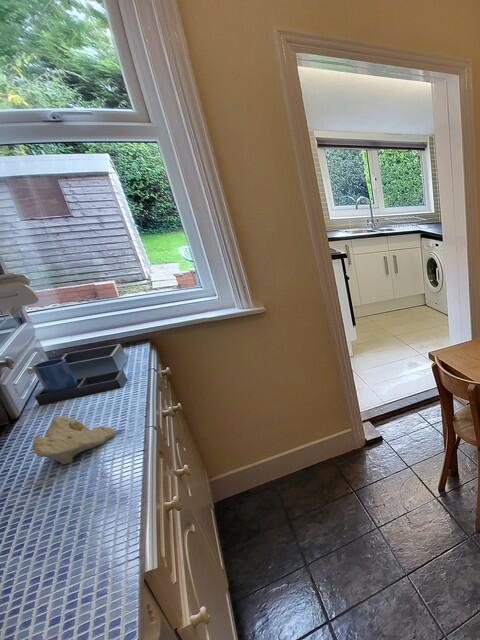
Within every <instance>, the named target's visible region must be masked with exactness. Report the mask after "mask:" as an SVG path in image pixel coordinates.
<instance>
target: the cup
mask: <svg viewBox="0 0 480 640" xmlns="http://www.w3.org/2000/svg"><path fill="white" fill-rule="evenodd" d="M31 369H32V370H33V372H34V374H35V376H36V377H37V379H38V381H39V383H40V384H41V386H42V388H43V387H44V389H45V391H46V393H47V394H48V393H53V392H58V391H63V390H67V389H72V388H77V386H78V385H79V384H78V382H77V380H76V378H75V377H74V375H73V373H72V371H71V369H70V367H69V365H68V364H67V362H66V360H65V359H61V358H54V359H49V360H45V361H40V362H38V363H36V364H33V365H32V366H31Z"/></svg>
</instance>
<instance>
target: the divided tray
mask: <svg viewBox="0 0 480 640" xmlns="http://www.w3.org/2000/svg"><path fill="white" fill-rule="evenodd" d="M76 380H77V382H78V384H79V385H78V386H77V388H72V389H67V390H63V391H58V392H53V393H48V394H47V393H46V391H45V389H44V387H43V386H42V388H41V389H40V390H39V392H38V393H37V394H35V396H34V399H35V401H36V402H37V404H38V405H39V407H41V406H47V405H51V404H55V403H60V402H64V401H69V400H73V399H79V398H83V397H87V396H92V395H97V394H102V393H106V392H111V391H116V390H119V389H123V388H124V387H125V385H126V384H127V381H128V378H127V375H126V374H125V372H124V369H122V370H119V371H114V372H109V373H104V374H99V375H94V376H89V377H84V378H79V379H76Z"/></svg>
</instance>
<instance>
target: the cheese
mask: <svg viewBox="0 0 480 640" xmlns="http://www.w3.org/2000/svg"><path fill="white" fill-rule="evenodd" d="M116 434H117V432H116V429H115V428H112V427H110V426H103V425H100V426H96V427H93V428H92V429H90V428H88V427H87V426H86V425H85V424H84V423H83V422H82V421H80V420H79V419H76V418H70V417H69V416H66V415H65V416H64V415H60V416H59V415H58V416H54V418H53V419H52V420H51V424H50V425H49V427H48V428H47V429H46V431H45V433H44V436H40V434H39V432H35V435H36V436H34V437H33V442H32V450H33V453H34V454H35V455H36V456H37V457H42V458H48V459H53V460H55V461H56V462H57V461H58V462H60V464H61V465H67V464H70V463H72V462H73V461H74V458H75V457H76V456H77V455H78V454H80V453H82V452H84V451H88V450H91V449H95V448H97V447H98V446H101V445H103V444H104V443H105V442H107V441H109V440H110V439H111V438H113V437H114V436H116Z"/></svg>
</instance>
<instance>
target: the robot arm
mask: <svg viewBox="0 0 480 640" xmlns="http://www.w3.org/2000/svg"><path fill="white" fill-rule="evenodd" d="M39 300H40V298H39V296H38V295H37V293H36V292H35V290H34V289H33V288H32V286H31V280H30V278H29V277H28V276H27V275H25V274H23V273H16V272H10V273H6V274H0V311H1V312H2V311H5V310H8V312H9V313H10V315H11V317H12V318H13V319H14V320H15V319H20V318H23V315H22V314H21V312H22V311H23V309H24V307H25V306H30V305H33V304H37V303H38V302H39Z"/></svg>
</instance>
